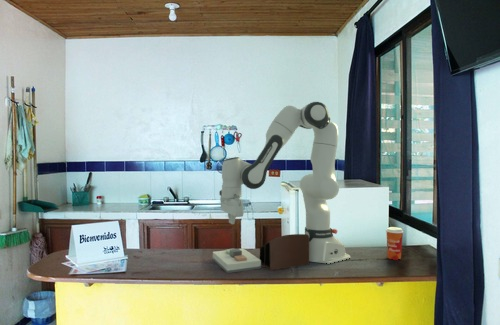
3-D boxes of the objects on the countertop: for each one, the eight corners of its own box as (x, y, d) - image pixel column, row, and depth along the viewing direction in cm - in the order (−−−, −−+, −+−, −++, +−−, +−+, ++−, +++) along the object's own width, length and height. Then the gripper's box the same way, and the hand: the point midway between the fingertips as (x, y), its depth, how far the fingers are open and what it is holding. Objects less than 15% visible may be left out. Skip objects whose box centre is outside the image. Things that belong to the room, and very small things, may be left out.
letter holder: (309, 264, 156) (309, 232, 156) (270, 271, 147) (270, 237, 147) (297, 258, 165) (297, 228, 165) (259, 264, 156) (259, 232, 156)
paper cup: (382, 258, 166) (382, 228, 165) (390, 254, 171) (390, 226, 170) (398, 262, 160) (399, 231, 159) (406, 258, 165) (406, 228, 164)
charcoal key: (238, 255, 159) (238, 248, 159) (241, 257, 155) (241, 250, 155) (230, 256, 157) (230, 249, 157) (233, 258, 154) (233, 251, 154)
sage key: (234, 254, 164) (234, 248, 164) (237, 257, 160) (237, 250, 160) (225, 255, 162) (225, 249, 162) (228, 258, 159) (228, 251, 159)
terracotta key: (243, 261, 154) (243, 254, 154) (246, 264, 150) (246, 257, 150) (234, 262, 152) (234, 256, 152) (237, 265, 149) (237, 258, 149)
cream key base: (243, 255, 168) (243, 248, 168) (260, 268, 150) (260, 260, 150) (212, 259, 163) (212, 251, 162) (227, 273, 144) (227, 264, 144)
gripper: (247, 195, 152) (247, 227, 153) (230, 190, 171) (230, 219, 171) (233, 196, 150) (233, 228, 150) (218, 191, 168) (218, 220, 169)
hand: (231, 223), depth 161 cm, fingers closed
